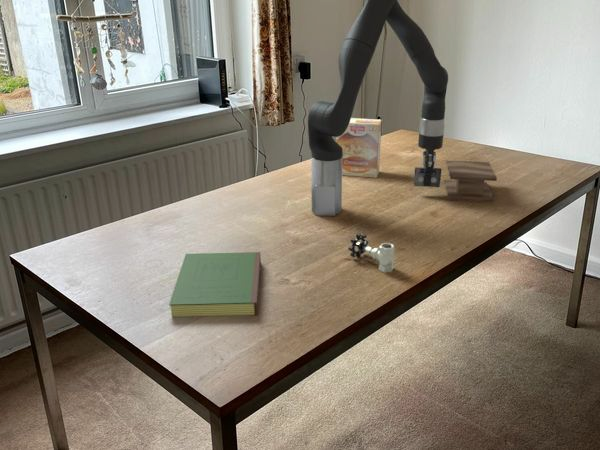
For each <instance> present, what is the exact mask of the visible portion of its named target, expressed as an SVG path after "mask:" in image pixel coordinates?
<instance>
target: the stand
mask: <svg viewBox="0 0 600 450" xmlns="http://www.w3.org/2000/svg"><path fill="white" fill-rule="evenodd" d="M445 161H446V162H445V165H446V168H447V172H448V176H449V178H450V179H448V180H444V181H443V185H444V188H445V191H446V196H447V200H448V201H468V202H493V203H494V201H495V197H494V196H493V193H492V191H491V189H490V187H489V184H488V182H489V181H494V182H497V180H498V179H497V178H498V177H497V175H496V173H495V172H494V171H495V170H494V169H493V167H492V165H491V163H490V161H467V160H465V161H464V160H445ZM487 181H488V182H487Z"/></svg>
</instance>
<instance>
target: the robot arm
mask: <svg viewBox="0 0 600 450" xmlns="http://www.w3.org/2000/svg"><path fill="white" fill-rule="evenodd" d="M386 23H387V24H388V25H389V27H390V28H391V30H392V31H393V32H394V34H395V35H396V37H397V39H398V40H399V42H401V45H402V46H403V49H404V51H406V53H407V55H408V57H409V59H410V60H411V62H412V63H413V64H414V66H415V67H416V71H417V72H418V75H419V77H420V79H421V81H422V83H423V84H424V88H423V101H422V106H421V116H420V121H419V129H418V131H419V132H418V143H417V146H418V148H420V149H425V150H424V151H422V168H425V169H424V186H423V187H426V186H430V185H431V175H432V174H433V168H435V162H436V159H437V153H436V151H435V150H440V149H442V147H443V142H444V134H445V117H446V115H445V114H446V97H447V96H446V95H447V88H448V83H449V74H448V71H447V69H446V68H445V67H443V66H442V64H441V62H440V61H439V60H438V58H437V56H436V54H435V50H434V48H433V46H432V44H431V43H430V40H429V39H428V37H427V35H426V34H425V32H424V30H423V29H422V28H421V26H419V24H418V23H416V22H415V21H414V20H413V19H412V18H411V17H410V16H409V15H408V14H407V12H405V11H404V9H403V8H402V6H401V5H400V3H399V1H398V0H366V1H365V4H364V5H363V8H362V10H361V12H360V13H359V14H358V16H357V17H356V19H355V20H354V22H353V24H352V26H351V27H350V29H349V31H348V33H347V34H346V37H345V39H344V41H343V43H342V46H341V49H340V52H339V54H338V59H337V62H338V63H337V64H338V72H339V77H340V87H339V90H338V93H337V96H336V99H335V101H334V102H329V101H322V100H319V101H316V102H314V103H313V104H312V105H311V106H310V109H309V111H308V114H307V115H308V116H307V129H308V130H307V133H308V135H307V136H308V146H309V149H310V153H311V212H312V213H313V214H314V215H315V216H321V217H322V216H323V217H325V216H327V217H336V216H337V215H338V214H340V213H341V212H342V201H343V199H342V197H343V195H342V194H343V191H342V190H343V175H342V160H343V150H342V147H341V146H340V145H339V144H338V143H337V142H336V141H335V139H334V138H337V137H339V136H341V135H342V134H343V133H344V132H345V131H346V129H347V127H348V125H349V122H350V119H351V118H352V116H353V112H354V109H355V105H356V102H357V99H358V95H359V92H360V90H361V86H362V84H363V81H364V78H365V76H366V72H367V71H368V68H369V66H370V64H371V62H372V59H373V57H374V54H375V52H376V48H377V45H378V42H379V40H380V38H381V34H382V32H383V30H384V29H383V28H384V27H385V24H386ZM333 137H334V138H333Z"/></svg>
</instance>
